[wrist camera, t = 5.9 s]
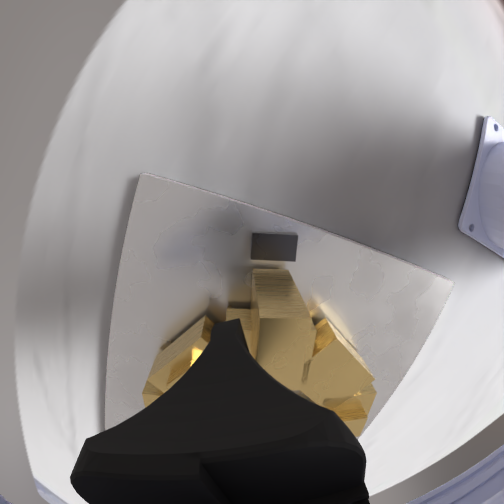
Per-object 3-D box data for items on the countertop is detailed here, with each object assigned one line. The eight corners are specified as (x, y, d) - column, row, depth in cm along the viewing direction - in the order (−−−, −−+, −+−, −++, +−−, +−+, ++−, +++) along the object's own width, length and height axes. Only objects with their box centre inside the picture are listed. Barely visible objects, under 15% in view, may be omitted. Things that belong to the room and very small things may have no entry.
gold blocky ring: (335, 450, 17) (350, 498, 13) (167, 451, 17) (158, 502, 12) (389, 271, 14) (441, 312, 9) (139, 263, 13) (97, 306, 8)
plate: (445, 277, 15) (485, 303, 12) (315, 474, 20) (323, 509, 16) (147, 173, 13) (114, 175, 9) (108, 435, 18) (94, 471, 14)
